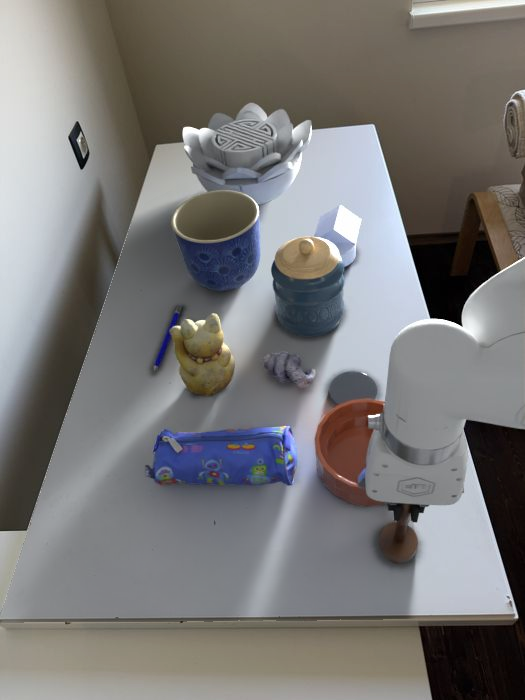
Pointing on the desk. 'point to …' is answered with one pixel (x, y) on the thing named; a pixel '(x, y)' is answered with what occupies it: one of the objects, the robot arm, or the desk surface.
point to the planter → (219, 238)
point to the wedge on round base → (340, 232)
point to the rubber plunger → (399, 539)
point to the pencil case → (225, 457)
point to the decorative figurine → (203, 355)
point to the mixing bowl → (346, 448)
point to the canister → (308, 286)
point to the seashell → (288, 368)
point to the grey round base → (352, 387)
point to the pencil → (167, 338)
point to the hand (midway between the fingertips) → (404, 510)
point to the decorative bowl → (248, 152)
